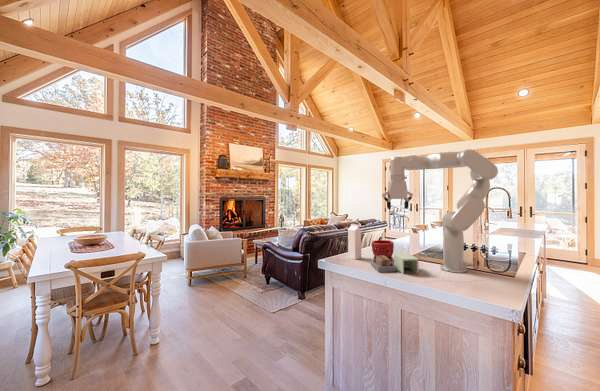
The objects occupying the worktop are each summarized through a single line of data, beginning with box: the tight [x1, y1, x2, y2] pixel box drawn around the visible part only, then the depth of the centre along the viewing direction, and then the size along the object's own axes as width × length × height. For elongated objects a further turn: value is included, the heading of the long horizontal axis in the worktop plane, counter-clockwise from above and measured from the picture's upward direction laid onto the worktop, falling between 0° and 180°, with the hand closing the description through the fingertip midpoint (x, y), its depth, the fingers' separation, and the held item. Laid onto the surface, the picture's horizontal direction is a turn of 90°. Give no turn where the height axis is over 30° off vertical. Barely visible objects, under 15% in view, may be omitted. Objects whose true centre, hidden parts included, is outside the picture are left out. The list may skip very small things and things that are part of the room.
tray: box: [370, 259, 398, 273], centre depth 147 cm, size 10×15×3 cm, turn 0°
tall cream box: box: [393, 252, 419, 275], centre depth 142 cm, size 8×12×8 cm
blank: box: [376, 255, 391, 267], centre depth 147 cm, size 5×10×5 cm, turn 0°
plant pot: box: [371, 239, 395, 262], centre depth 163 cm, size 13×13×12 cm
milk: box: [347, 223, 362, 260], centre depth 169 cm, size 6×6×22 cm
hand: (397, 208), depth 147 cm, fingers open, 9 cm apart
